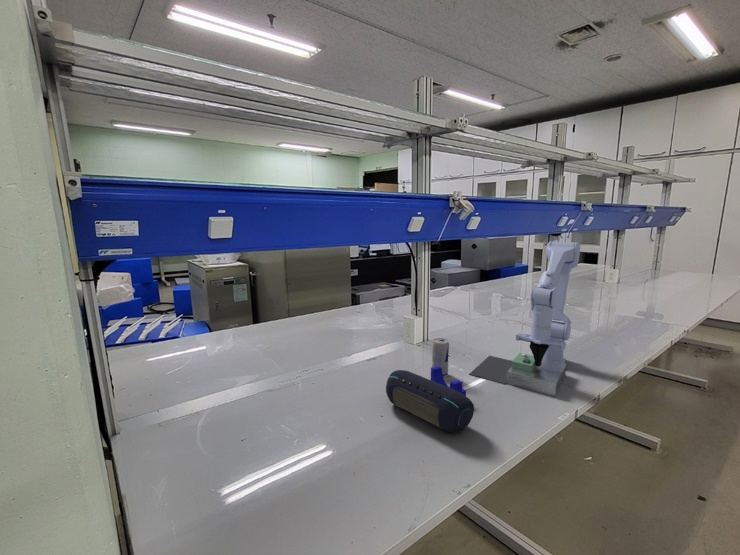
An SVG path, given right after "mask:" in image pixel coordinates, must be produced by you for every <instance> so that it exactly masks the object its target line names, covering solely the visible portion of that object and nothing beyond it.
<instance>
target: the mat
mask: <svg viewBox="0 0 740 555" xmlns="http://www.w3.org/2000/svg"><path fill="white" fill-rule="evenodd" d="M512 361H513V360H510V359H506V358H501V357H497V356H494V355H488V357H486V358H485V359H484V360H483V361H482V362H481V363H480V364H478V365H477V366H475V368H474V369H473V370H472V371H471V372H470V373H468V375H469V376H473V377H475V378H480V379H483V380H487V381H492V382H494V383H498V384H501V385H506V384H507V371H508V370H509V369H510V368H511V367H512Z"/></svg>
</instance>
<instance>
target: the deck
mask: <svg viewBox="0 0 740 555" xmlns="http://www.w3.org/2000/svg"><path fill="white" fill-rule="evenodd" d="M566 372H567V363H565V362H564V363H560V362H555V361H550V360H546V359H542V362H541V366H540V367H539V366H535V367H534V369H533V370H532V371H531V372H530V371H526V370H522V369H518V368H513V367H511V368H510V369H509V370H508V371H507V383H506V384H507V385H511V386H514V387H518V388H522V389H526V390H529V391H533V392H536V393H541V394H543V395H548V396H551V397H556V396H557V393H558V391H559V389H560V388H561V385H562V383H563V381H564V379H565V377H566V375H567V374H566Z"/></svg>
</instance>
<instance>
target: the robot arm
mask: <svg viewBox="0 0 740 555" xmlns="http://www.w3.org/2000/svg"><path fill="white" fill-rule="evenodd" d="M545 250H546V251H545V254H546V257H547V260H548V265H547V270H545V271H543V272H542V273H541V275H540V278H539V281H538V283H537V285H536V287H535V288H532V290H531V293H530V304H531V306H530V310H531V311H532V314H531V326H530V334H526V333H518V332H517V333H515V341H522V342H528V343H529V348H530V351H531V353H532V356H534V360H535V366H539V367H540V366H541V362H542V359H546V360H550V361H555V362H560V363H564V364H565V362H566V360H567V359H566V358H565V357H564V351H565V350H566V348H567V342H566V341H568V340H569V339H570V337H571V332H572V331H571V330H572V327H571V325H572V321H571V320H572V319H571V318H569V317H568V316H567V315H566V314H565V313H564V312H565V308H566V307H565V305H566V300H567V293H568V286H569V282H570V281H569V280H570V274H571V272H572V269H575V268H576V267H578V264H579V262H580V254H581V244H580V242H572V241H571V242H569V241H568V242H566V241H551V240H550V241H549V242H547V245H546V248H545Z"/></svg>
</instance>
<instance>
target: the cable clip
mask: <svg viewBox="0 0 740 555" xmlns="http://www.w3.org/2000/svg"><path fill="white" fill-rule="evenodd" d="M430 380H431V381H434V382H436V383H439V384H441V385H444V386H446V387H449V388H451V389H453V390H456V391H458V392H460V393H462V394H463V395H465V396H466V397H467V390H466V389H465V388H464V387H463V381H461V380H460V379H457V380H452V381H450V382H449V383H450V385H448V384H447V383H446V381H445V377H444V378H443V375H442V368H441V367H440V366H437V367H432V366H431V367H430Z"/></svg>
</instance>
